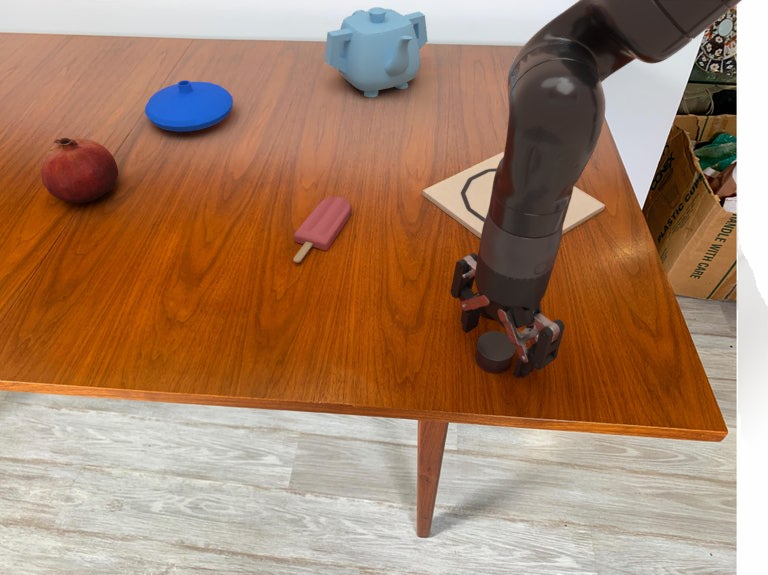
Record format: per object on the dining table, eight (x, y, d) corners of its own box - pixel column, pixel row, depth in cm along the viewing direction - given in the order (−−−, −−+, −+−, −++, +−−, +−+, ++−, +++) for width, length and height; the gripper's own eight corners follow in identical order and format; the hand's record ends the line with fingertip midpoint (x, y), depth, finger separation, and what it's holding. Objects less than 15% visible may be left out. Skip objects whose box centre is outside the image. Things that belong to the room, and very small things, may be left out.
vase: (204, 149, 102) (195, 112, 96) (131, 131, 106) (118, 95, 100) (251, 107, 112) (245, 71, 107) (182, 92, 116) (173, 57, 111)
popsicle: (278, 252, 81) (326, 192, 90) (279, 260, 82) (326, 200, 91) (312, 262, 79) (357, 200, 89) (313, 270, 80) (357, 208, 90)
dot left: (520, 361, 70) (523, 348, 68) (493, 379, 68) (496, 367, 66) (493, 337, 72) (496, 324, 70) (467, 355, 70) (469, 342, 69)
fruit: (56, 222, 88) (27, 166, 80) (52, 186, 94) (24, 131, 87) (129, 204, 91) (108, 148, 84) (120, 170, 97) (99, 116, 90)
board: (603, 210, 90) (605, 204, 89) (513, 264, 81) (515, 258, 81) (510, 152, 101) (511, 147, 100) (422, 195, 92) (422, 189, 92)
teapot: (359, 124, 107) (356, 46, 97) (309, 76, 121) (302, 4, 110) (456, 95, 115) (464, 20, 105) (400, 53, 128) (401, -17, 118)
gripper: (600, 274, 55) (561, 373, 67) (493, 200, 63) (475, 301, 75) (546, 309, 52) (515, 407, 64) (441, 227, 60) (431, 328, 71)
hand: (494, 350), depth 69 cm, fingers open, 8 cm apart
